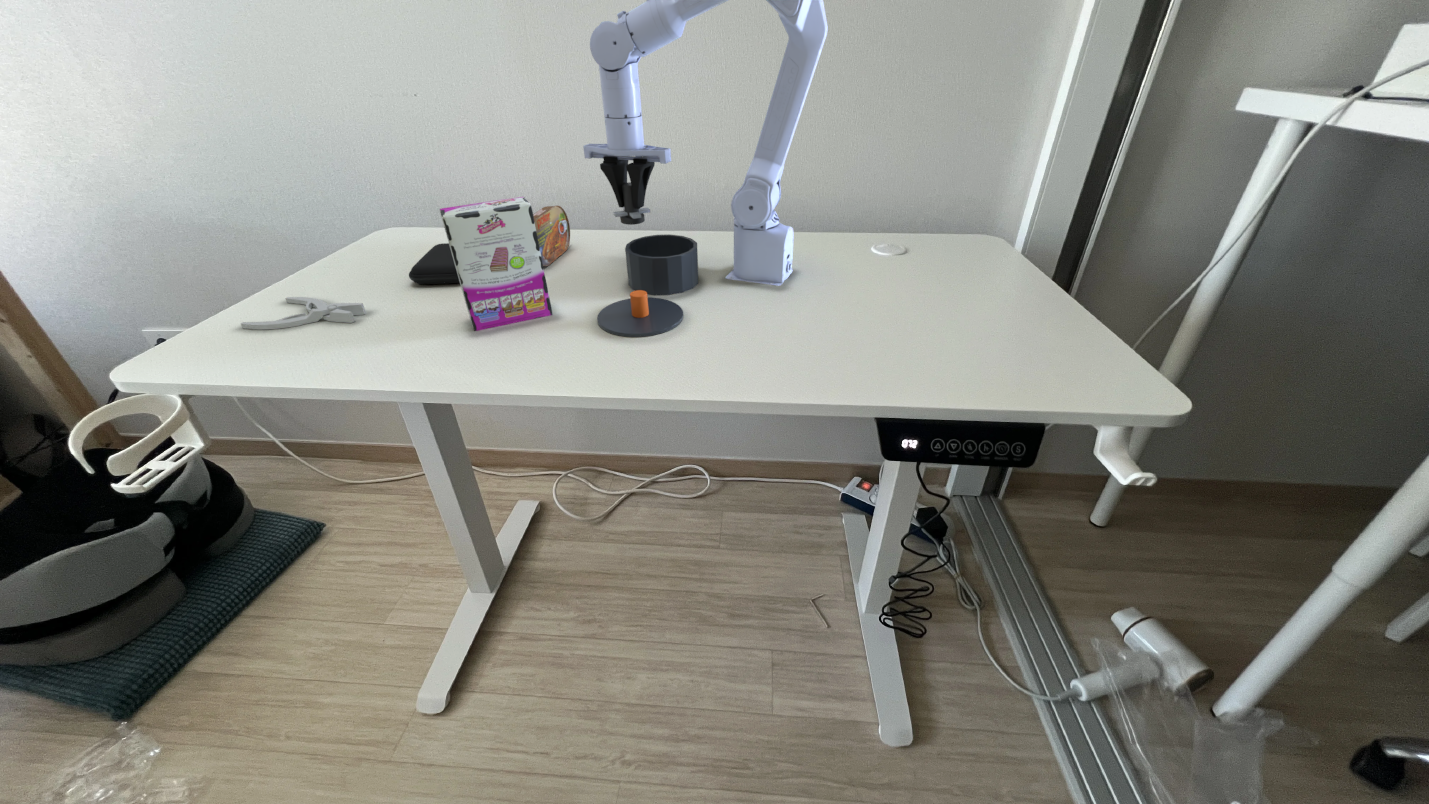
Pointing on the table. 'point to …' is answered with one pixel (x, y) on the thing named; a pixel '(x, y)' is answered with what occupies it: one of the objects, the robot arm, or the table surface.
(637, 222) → the blade
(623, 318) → the lid
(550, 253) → the tin
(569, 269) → the table surface
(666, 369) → the table surface
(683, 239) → the dark grey pot
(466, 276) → the candy bar box
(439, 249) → the carrying case
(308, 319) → the pliers
